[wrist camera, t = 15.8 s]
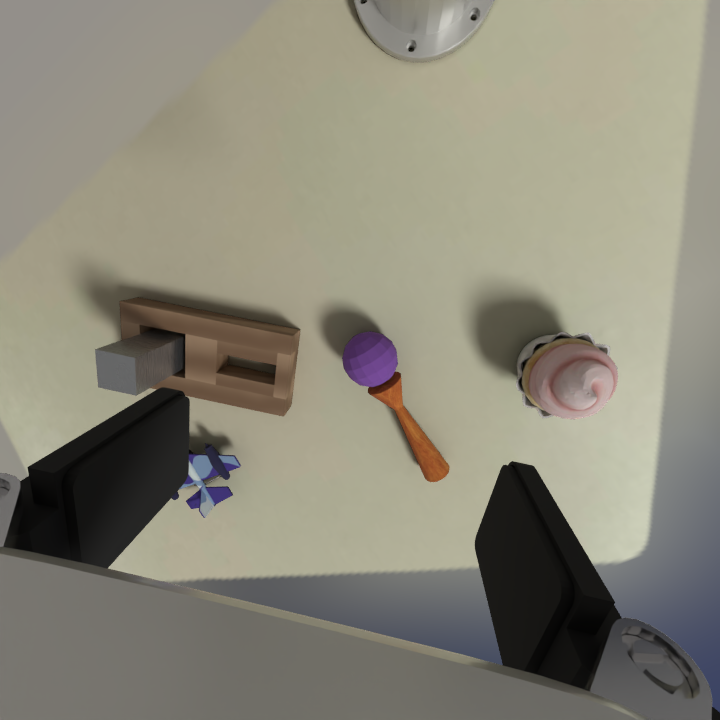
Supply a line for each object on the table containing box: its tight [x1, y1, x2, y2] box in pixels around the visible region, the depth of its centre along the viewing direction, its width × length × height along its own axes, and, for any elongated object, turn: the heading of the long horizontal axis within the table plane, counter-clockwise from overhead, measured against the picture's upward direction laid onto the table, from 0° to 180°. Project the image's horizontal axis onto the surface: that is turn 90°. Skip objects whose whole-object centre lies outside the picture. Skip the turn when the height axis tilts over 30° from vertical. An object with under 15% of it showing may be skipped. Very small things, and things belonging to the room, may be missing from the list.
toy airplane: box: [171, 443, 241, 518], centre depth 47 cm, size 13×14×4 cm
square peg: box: [95, 328, 186, 396], centre depth 39 cm, size 4×4×10 cm
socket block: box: [120, 297, 300, 416], centre depth 42 cm, size 10×20×3 cm, turn 80°
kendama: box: [342, 331, 449, 482], centre depth 40 cm, size 6×6×20 cm
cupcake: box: [516, 332, 618, 419], centre depth 34 cm, size 9×9×10 cm
